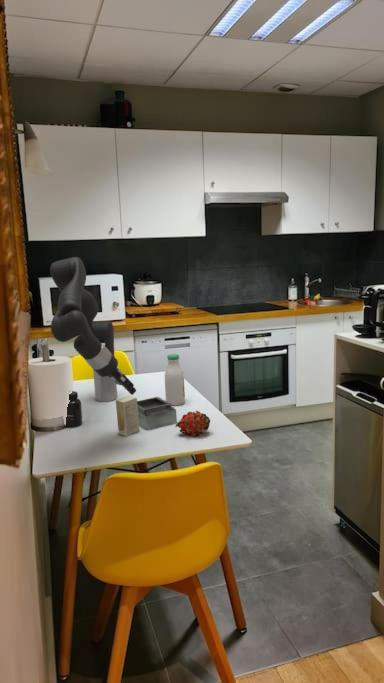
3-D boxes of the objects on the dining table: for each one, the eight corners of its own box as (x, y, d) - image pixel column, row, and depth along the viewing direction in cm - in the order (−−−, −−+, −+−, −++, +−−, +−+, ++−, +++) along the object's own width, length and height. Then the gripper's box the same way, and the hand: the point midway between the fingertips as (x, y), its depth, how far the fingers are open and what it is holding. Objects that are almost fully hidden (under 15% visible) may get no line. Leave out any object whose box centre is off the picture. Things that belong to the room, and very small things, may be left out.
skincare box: (132, 428, 176) (130, 395, 173) (140, 431, 173) (137, 397, 170) (117, 433, 171) (114, 399, 169) (125, 436, 168) (122, 402, 166)
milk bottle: (182, 406, 197) (180, 357, 194) (163, 405, 199) (161, 357, 195) (186, 400, 205) (184, 352, 201) (168, 399, 206) (166, 352, 203)
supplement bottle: (66, 429, 178) (63, 396, 175) (61, 423, 184) (58, 392, 181) (84, 425, 181) (82, 393, 178) (79, 420, 187) (77, 389, 184)
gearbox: (127, 417, 187) (126, 401, 186) (156, 411, 193) (155, 395, 192) (146, 430, 173) (145, 412, 172) (176, 422, 179) (175, 405, 178)
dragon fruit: (214, 437, 168) (179, 445, 168) (208, 417, 174) (175, 424, 173) (212, 423, 162) (176, 431, 161) (207, 402, 168) (172, 410, 167)
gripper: (81, 360, 160) (108, 387, 171) (104, 376, 150) (131, 404, 161) (97, 343, 162) (122, 371, 173) (120, 358, 152) (146, 387, 163)
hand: (126, 387), depth 167 cm, fingers open, 8 cm apart
